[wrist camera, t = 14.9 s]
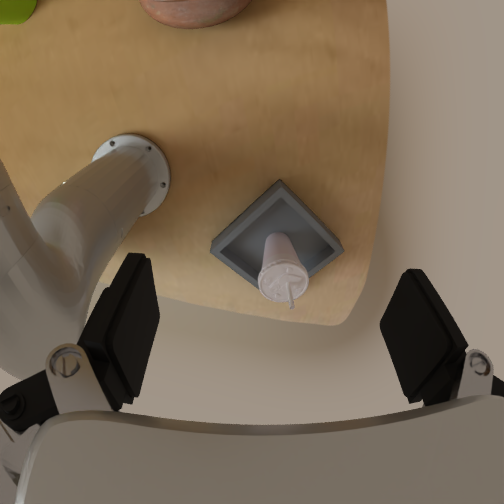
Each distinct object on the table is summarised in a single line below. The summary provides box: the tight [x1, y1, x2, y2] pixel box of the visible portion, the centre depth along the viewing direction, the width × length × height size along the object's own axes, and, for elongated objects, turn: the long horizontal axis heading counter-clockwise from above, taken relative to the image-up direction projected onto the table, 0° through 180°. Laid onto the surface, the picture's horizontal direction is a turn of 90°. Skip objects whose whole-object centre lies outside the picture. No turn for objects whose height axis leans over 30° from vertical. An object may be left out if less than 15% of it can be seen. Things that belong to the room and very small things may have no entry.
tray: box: [210, 179, 344, 289], centre depth 43 cm, size 14×14×3 cm
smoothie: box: [258, 232, 309, 309], centre depth 38 cm, size 6×6×14 cm
